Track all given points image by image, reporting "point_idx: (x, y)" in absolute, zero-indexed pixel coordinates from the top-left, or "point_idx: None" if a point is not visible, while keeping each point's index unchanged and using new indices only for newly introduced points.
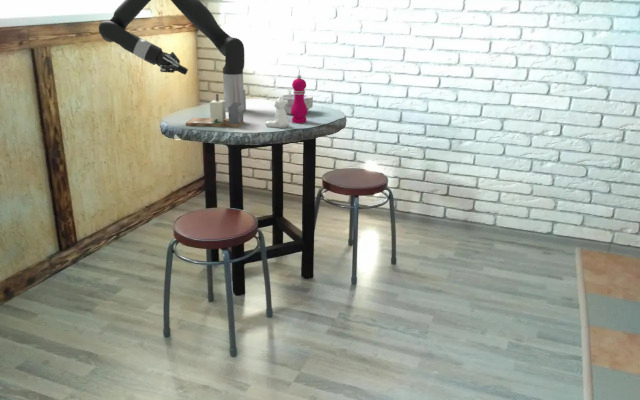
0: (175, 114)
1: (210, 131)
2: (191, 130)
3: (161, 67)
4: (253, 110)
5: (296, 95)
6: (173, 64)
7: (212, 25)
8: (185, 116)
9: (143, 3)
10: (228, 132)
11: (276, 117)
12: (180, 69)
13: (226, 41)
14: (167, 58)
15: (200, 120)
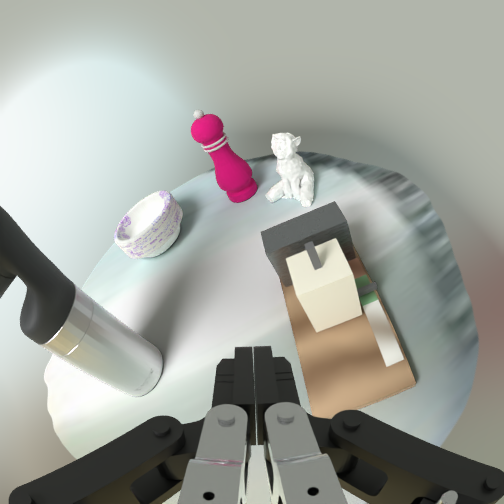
0: None
1: (435, 267)
2: (459, 319)
3: (498, 496)
4: (137, 326)
5: (226, 144)
6: (307, 453)
7: None
8: (253, 484)
9: None
10: (414, 227)
11: (304, 170)
12: (294, 388)
13: None
14: None
15: (352, 365)
